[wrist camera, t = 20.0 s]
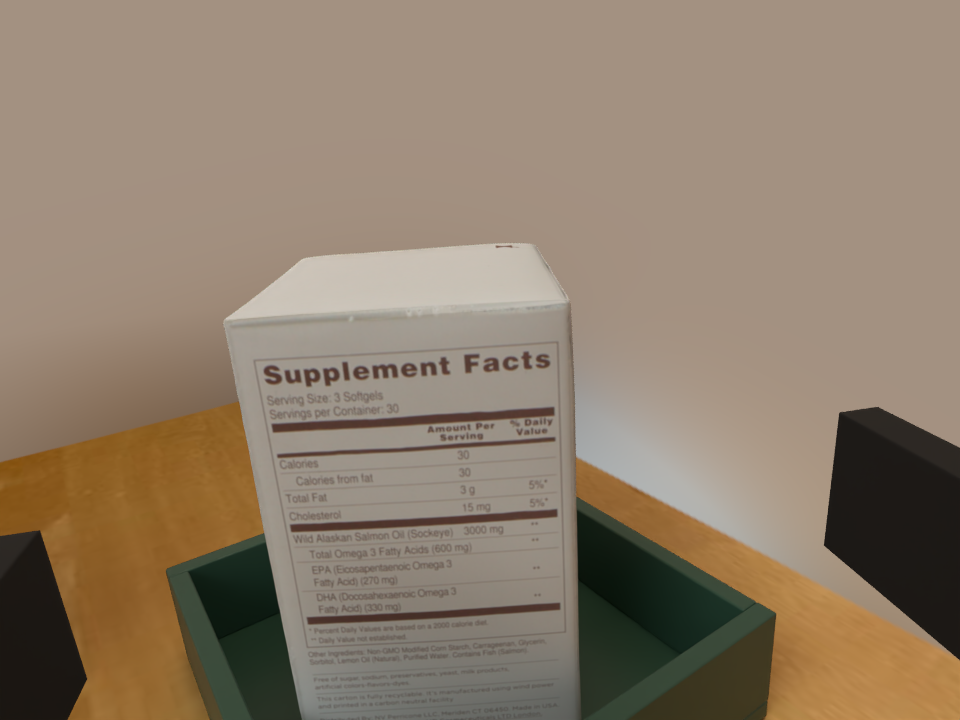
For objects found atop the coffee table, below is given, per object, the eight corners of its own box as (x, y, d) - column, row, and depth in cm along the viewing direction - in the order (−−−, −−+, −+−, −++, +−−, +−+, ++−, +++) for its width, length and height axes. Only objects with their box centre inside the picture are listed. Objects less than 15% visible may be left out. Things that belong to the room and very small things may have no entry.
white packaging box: (352, 598, 24) (300, 253, 20) (555, 586, 24) (543, 237, 20) (302, 784, 17) (208, 314, 13) (587, 769, 17) (579, 291, 13)
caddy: (767, 716, 19) (777, 612, 18) (336, 1073, 12) (308, 943, 11) (499, 521, 30) (495, 448, 29) (187, 657, 23) (164, 568, 22)
